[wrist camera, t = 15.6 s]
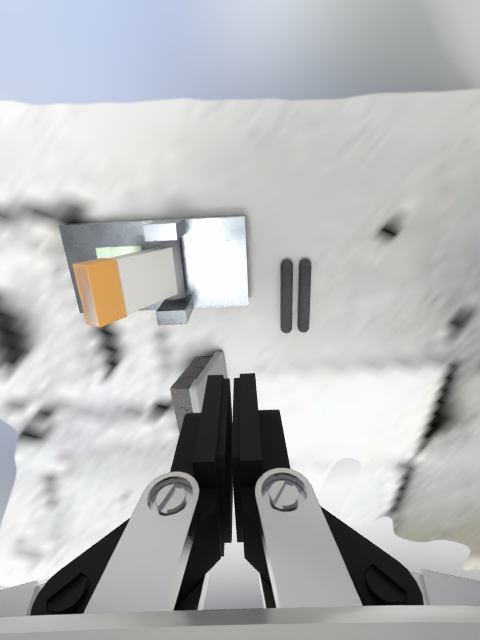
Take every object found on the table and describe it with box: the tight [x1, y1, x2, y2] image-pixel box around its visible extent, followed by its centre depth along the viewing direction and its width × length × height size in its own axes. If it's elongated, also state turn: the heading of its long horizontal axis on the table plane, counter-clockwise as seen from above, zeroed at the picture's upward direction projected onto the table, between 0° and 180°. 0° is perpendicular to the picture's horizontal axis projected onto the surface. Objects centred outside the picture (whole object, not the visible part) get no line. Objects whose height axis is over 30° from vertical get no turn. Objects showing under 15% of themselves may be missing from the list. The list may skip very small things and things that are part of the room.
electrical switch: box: [170, 351, 227, 433], centre depth 41 cm, size 9×5×9 cm, turn 6°
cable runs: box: [281, 259, 311, 333], centre depth 40 cm, size 4×9×1 cm, turn 3°
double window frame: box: [59, 215, 248, 325], centre depth 35 cm, size 20×10×8 cm, turn 93°
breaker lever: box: [72, 239, 185, 327], centre depth 31 cm, size 2×6×12 cm, turn 4°
